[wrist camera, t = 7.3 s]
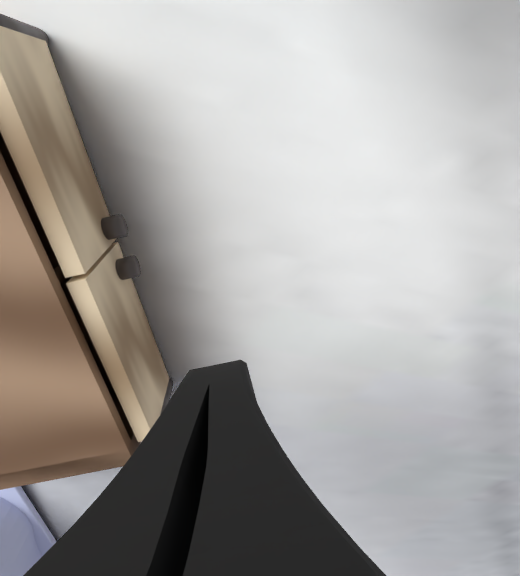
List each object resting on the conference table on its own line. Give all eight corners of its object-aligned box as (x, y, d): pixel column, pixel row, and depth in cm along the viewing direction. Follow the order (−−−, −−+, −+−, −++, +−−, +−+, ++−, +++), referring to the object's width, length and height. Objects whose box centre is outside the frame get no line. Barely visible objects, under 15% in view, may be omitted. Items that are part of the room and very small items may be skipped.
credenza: (187, 380, 21) (173, 456, 17) (10, 416, 21) (-51, 499, 17) (63, 22, 14) (-17, -16, 10) (-190, 82, 15) (-379, 71, 10)
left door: (187, 384, 21) (175, 453, 17) (161, 389, 21) (143, 459, 17) (135, 236, 18) (103, 277, 14) (104, 243, 18) (63, 285, 14)
